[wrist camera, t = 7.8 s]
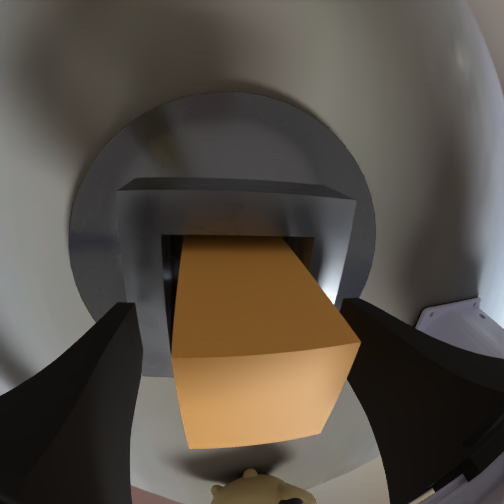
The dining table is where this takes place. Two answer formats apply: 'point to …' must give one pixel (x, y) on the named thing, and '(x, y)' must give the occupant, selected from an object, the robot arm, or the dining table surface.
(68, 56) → the dining table surface
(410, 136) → the dining table surface
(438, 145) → the dining table surface
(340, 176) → the grey piece
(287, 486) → the tan rounded figure
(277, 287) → the orange rectangular block
